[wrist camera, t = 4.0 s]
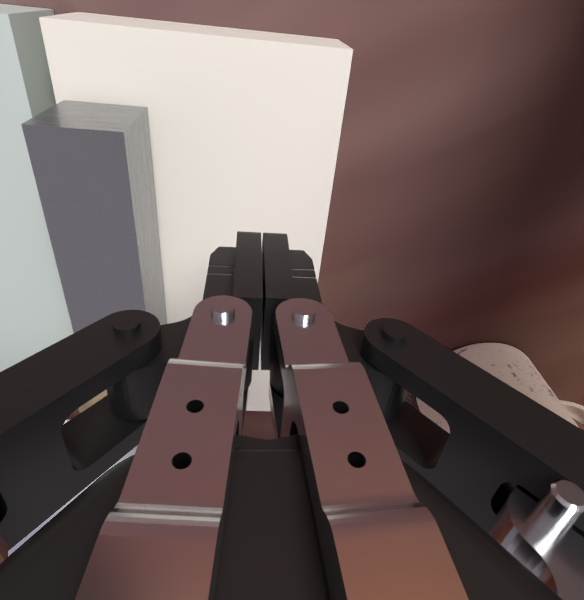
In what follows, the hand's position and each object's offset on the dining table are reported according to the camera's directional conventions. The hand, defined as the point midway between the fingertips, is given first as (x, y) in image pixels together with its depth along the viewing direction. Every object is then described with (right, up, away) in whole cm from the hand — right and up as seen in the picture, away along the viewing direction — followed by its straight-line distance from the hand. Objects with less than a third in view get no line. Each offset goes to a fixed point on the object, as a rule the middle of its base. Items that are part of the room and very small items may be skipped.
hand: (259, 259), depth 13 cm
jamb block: (-3, +2, +11) cm, 12 cm away
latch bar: (-7, 0, +7) cm, 10 cm away
